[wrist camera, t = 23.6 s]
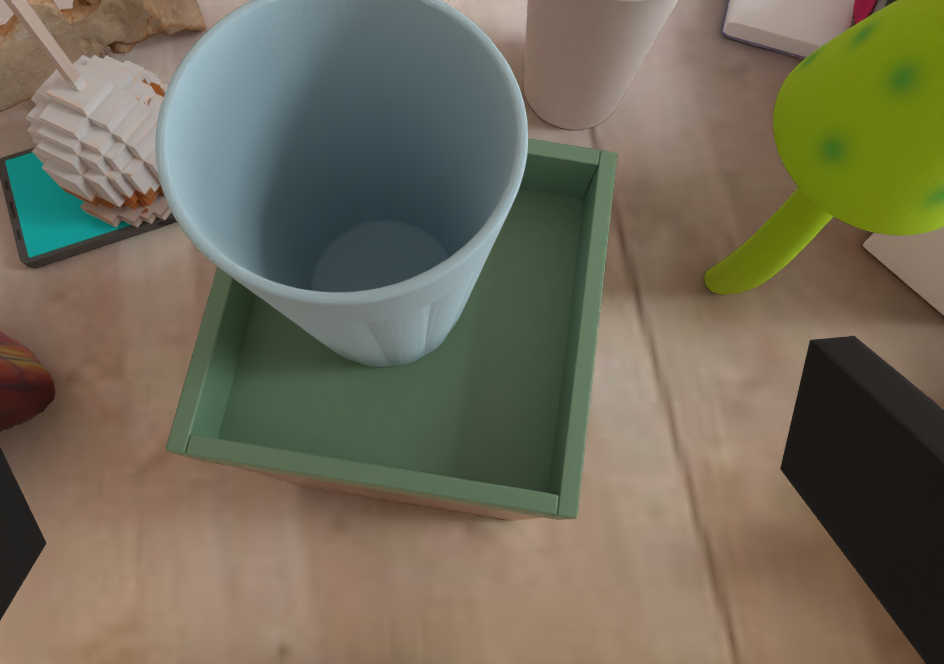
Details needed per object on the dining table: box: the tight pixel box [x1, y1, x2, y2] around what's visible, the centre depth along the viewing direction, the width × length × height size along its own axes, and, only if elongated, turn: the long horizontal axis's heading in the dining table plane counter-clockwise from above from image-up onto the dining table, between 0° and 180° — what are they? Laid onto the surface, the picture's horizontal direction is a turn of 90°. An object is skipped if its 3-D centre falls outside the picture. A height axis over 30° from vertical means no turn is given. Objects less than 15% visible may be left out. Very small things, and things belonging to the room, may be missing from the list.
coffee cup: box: [524, 0, 678, 130], centre depth 38 cm, size 10×10×15 cm
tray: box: [166, 138, 617, 520], centre depth 23 cm, size 12×12×3 cm
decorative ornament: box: [4, 0, 171, 228], centre depth 34 cm, size 8×8×15 cm
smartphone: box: [0, 148, 177, 268], centre depth 41 cm, size 7×1×15 cm
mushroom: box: [704, 0, 944, 295], centre depth 30 cm, size 8×8×25 cm
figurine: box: [0, 0, 206, 112], centre depth 40 cm, size 7×4×20 cm
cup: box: [155, 0, 528, 367], centre depth 19 cm, size 8×8×10 cm
